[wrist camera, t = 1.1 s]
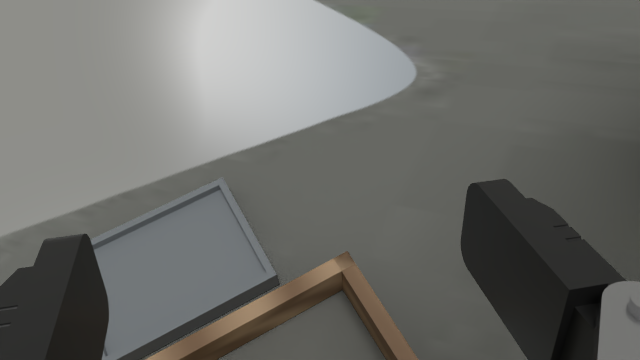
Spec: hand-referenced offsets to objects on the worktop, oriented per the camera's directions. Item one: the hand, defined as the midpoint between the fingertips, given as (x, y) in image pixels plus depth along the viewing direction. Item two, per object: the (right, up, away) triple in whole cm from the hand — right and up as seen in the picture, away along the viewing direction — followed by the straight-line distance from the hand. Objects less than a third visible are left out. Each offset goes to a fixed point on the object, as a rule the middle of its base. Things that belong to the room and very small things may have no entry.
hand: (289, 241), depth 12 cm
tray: (-10, -5, +26) cm, 29 cm away
